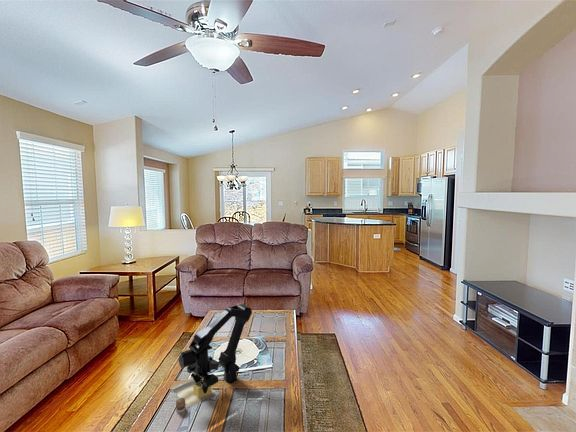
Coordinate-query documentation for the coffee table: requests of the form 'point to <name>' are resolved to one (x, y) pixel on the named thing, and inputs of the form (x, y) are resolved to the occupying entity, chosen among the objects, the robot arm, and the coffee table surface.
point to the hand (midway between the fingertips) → (202, 390)
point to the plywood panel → (189, 392)
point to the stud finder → (199, 389)
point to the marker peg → (180, 405)
